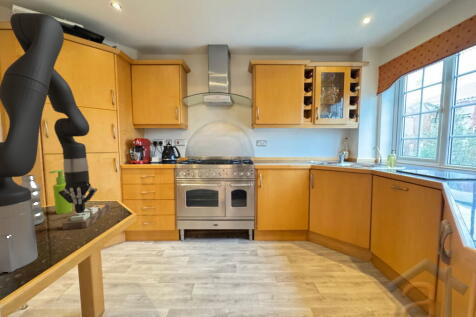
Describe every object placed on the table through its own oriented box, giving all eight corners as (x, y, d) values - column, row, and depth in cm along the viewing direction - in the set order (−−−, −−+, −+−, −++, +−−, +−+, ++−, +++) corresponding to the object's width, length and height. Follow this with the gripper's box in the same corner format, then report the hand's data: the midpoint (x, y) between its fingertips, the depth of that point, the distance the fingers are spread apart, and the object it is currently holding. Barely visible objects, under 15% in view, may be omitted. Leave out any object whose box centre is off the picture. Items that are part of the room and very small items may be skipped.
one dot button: (100, 214, 92) (100, 207, 92) (89, 215, 91) (89, 208, 91) (105, 210, 97) (104, 204, 96) (94, 211, 96) (94, 205, 96)
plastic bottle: (49, 221, 85) (44, 174, 83) (31, 228, 78) (25, 177, 76) (35, 221, 85) (30, 174, 83) (16, 228, 78) (10, 177, 77)
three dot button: (92, 217, 86) (92, 210, 85) (81, 218, 85) (80, 211, 85) (98, 213, 90) (97, 206, 90) (87, 214, 89) (86, 207, 89)
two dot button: (84, 223, 79) (83, 216, 79) (71, 224, 79) (70, 216, 78) (90, 219, 84) (89, 211, 83) (78, 220, 83) (77, 212, 83)
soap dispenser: (50, 214, 93) (45, 171, 91) (66, 209, 100) (62, 168, 98) (59, 215, 91) (54, 171, 90) (75, 210, 98) (71, 169, 96)
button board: (86, 227, 78) (86, 221, 78) (63, 229, 77) (62, 223, 76) (111, 209, 99) (110, 204, 98) (92, 210, 97) (92, 205, 97)
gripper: (50, 172, 74) (54, 217, 76) (89, 170, 77) (93, 214, 78) (63, 169, 82) (67, 210, 84) (99, 167, 84) (103, 208, 86)
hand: (80, 212), depth 81 cm, fingers closed
